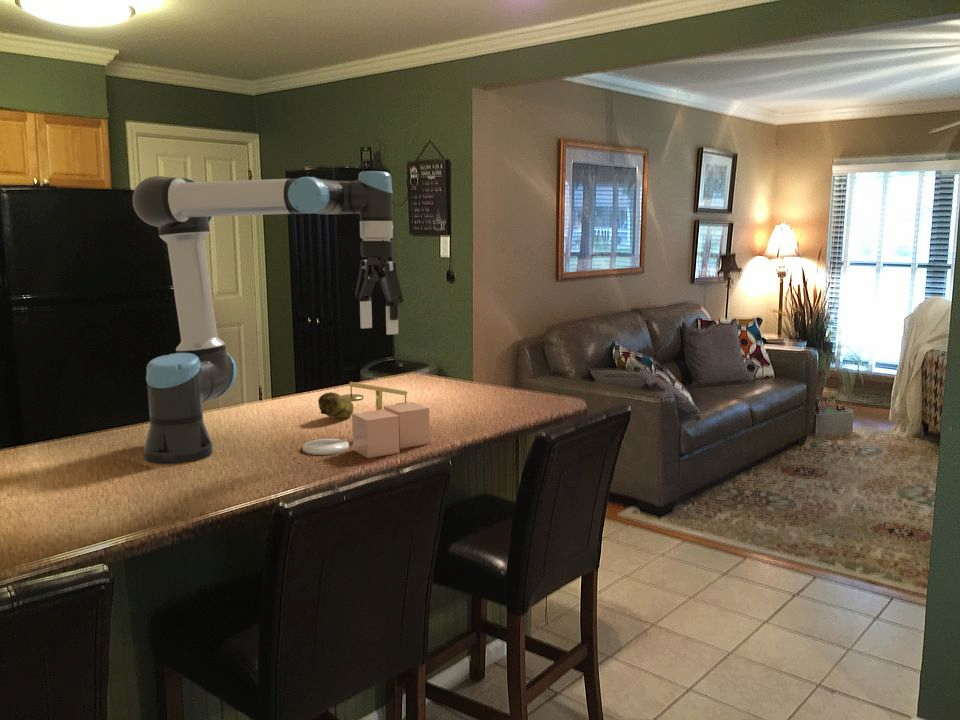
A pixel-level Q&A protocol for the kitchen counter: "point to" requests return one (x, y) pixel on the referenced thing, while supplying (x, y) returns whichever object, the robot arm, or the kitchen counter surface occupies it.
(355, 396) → the balance
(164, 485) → the kitchen counter surface
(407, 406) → the peach pink cube
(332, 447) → the dish
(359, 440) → the tan cardboard-like box
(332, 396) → the potato
